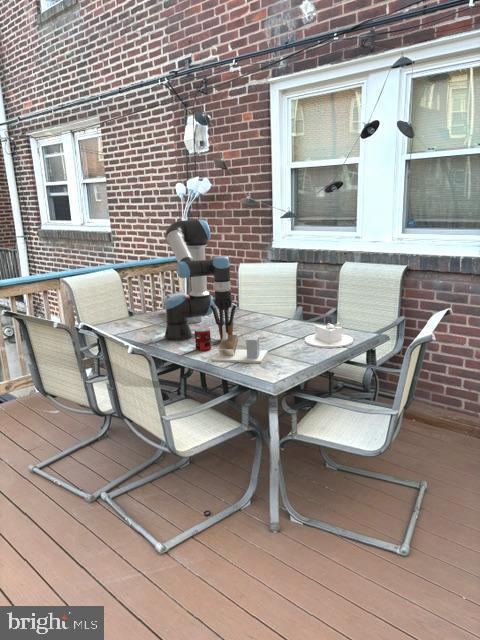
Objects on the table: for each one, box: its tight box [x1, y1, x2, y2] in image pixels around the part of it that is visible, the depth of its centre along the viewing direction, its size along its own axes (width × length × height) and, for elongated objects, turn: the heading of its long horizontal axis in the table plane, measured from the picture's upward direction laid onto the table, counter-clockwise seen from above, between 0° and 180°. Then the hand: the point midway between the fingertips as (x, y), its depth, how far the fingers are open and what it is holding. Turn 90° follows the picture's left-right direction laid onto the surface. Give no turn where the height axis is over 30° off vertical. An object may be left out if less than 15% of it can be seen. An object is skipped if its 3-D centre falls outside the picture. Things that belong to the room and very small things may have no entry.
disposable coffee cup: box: [217, 316, 235, 341], centre depth 252 cm, size 10×10×12 cm
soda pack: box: [165, 291, 203, 325], centre depth 309 cm, size 41×13×14 cm, turn 22°
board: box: [211, 348, 269, 364], centre depth 224 cm, size 24×16×1 cm, turn 75°
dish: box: [304, 321, 354, 349], centre depth 242 cm, size 25×25×11 cm
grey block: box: [245, 336, 260, 358], centre depth 220 cm, size 5×5×9 cm
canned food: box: [194, 326, 212, 352], centre depth 237 cm, size 8×8×11 cm
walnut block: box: [218, 334, 239, 356], centre depth 226 cm, size 7×4×10 cm
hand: (225, 338), depth 221 cm, fingers closed
